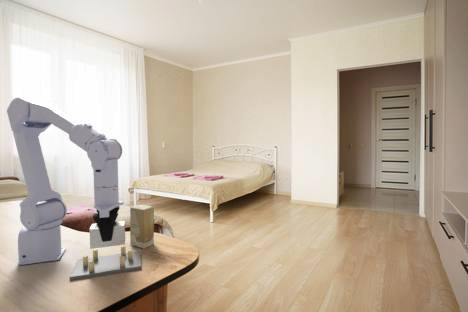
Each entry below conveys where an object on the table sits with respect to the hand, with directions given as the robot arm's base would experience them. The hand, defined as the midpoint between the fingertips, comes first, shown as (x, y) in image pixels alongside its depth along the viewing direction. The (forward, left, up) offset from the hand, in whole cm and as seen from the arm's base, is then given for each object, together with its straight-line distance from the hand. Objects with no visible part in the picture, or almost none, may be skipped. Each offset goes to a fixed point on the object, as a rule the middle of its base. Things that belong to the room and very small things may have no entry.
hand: (107, 237), depth 71 cm
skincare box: (+9, +12, -8) cm, 17 cm away
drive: (0, 0, -2) cm, 2 cm away
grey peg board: (0, 0, -8) cm, 8 cm away
